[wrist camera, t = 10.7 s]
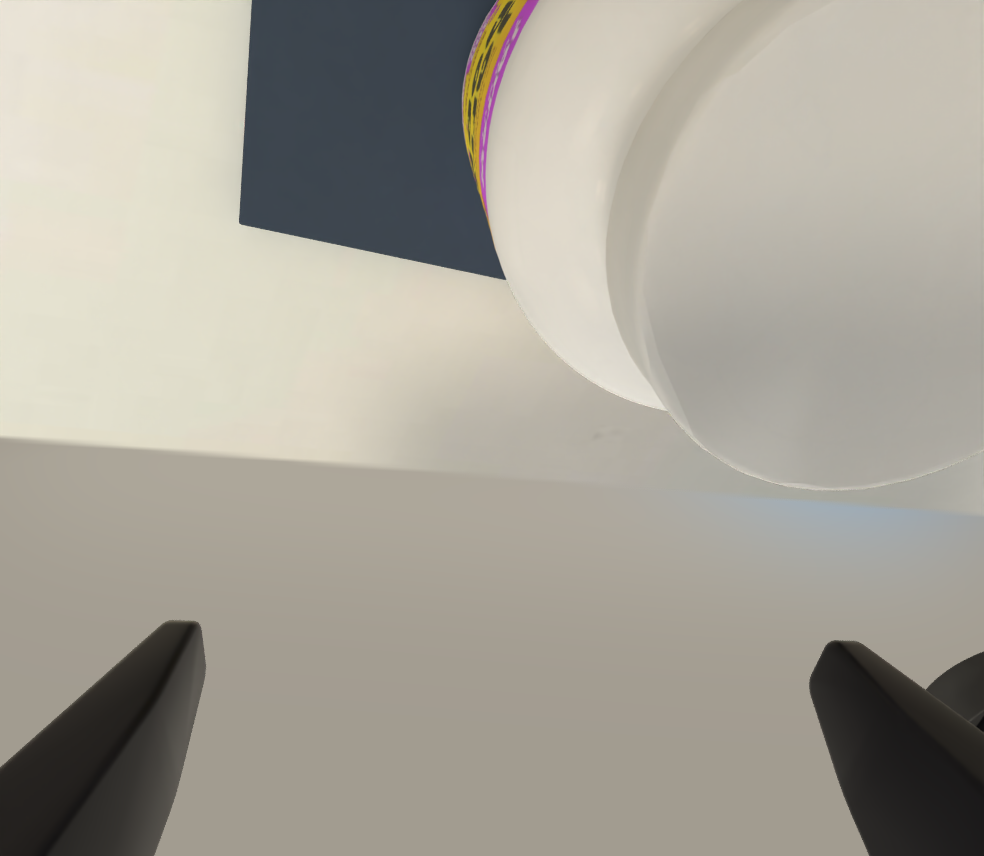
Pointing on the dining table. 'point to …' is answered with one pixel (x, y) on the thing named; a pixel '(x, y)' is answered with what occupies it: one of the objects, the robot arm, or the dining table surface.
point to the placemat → (365, 128)
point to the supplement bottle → (749, 218)
